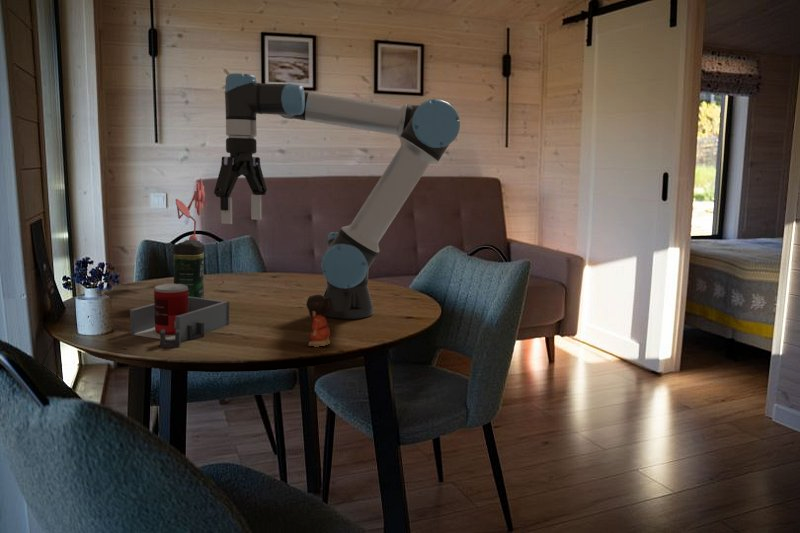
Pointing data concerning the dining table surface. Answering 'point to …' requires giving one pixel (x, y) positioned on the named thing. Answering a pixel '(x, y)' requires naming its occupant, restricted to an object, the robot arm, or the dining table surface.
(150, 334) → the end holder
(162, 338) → the clip
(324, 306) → the figurine
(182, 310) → the canned food
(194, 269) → the coffee jar
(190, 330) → the clip
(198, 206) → the pink flower
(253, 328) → the dining table surface
